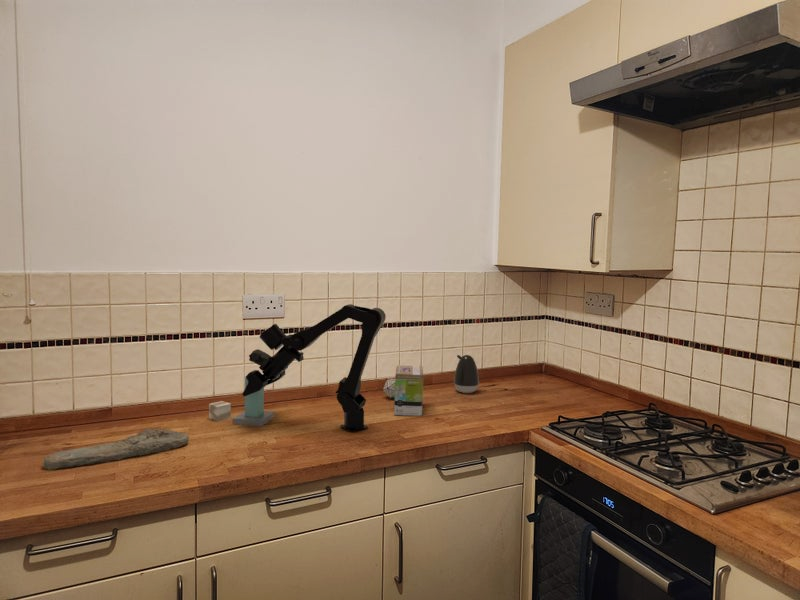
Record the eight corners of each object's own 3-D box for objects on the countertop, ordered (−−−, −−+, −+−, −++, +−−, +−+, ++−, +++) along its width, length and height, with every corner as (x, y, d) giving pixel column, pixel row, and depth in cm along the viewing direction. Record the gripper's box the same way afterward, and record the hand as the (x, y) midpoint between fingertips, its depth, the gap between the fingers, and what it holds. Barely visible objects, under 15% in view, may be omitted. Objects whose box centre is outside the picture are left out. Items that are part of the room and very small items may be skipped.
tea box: (422, 416, 182) (423, 374, 181) (393, 415, 182) (394, 373, 181) (422, 404, 197) (422, 364, 196) (395, 403, 197) (395, 364, 196)
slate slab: (274, 418, 179) (274, 411, 179) (261, 428, 169) (261, 420, 169) (246, 416, 181) (246, 409, 180) (232, 426, 171) (232, 418, 171)
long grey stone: (44, 466, 139) (44, 482, 131) (42, 447, 138) (42, 462, 130) (185, 436, 158) (192, 448, 150) (183, 419, 157) (191, 430, 149)
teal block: (263, 413, 176) (264, 374, 176) (257, 417, 172) (258, 377, 171) (251, 412, 177) (251, 374, 176) (244, 416, 173) (245, 376, 172)
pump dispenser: (465, 387, 223) (466, 351, 222) (483, 392, 215) (485, 355, 214) (448, 390, 217) (448, 354, 215) (466, 396, 209) (467, 358, 207)
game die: (397, 408, 204) (405, 391, 198) (376, 400, 203) (384, 383, 198) (402, 392, 211) (410, 375, 205) (382, 384, 211) (389, 367, 205)
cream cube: (230, 418, 177) (230, 403, 177) (217, 421, 173) (217, 406, 173) (222, 415, 180) (222, 400, 180) (209, 418, 176) (209, 403, 176)
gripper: (276, 337, 181) (246, 367, 184) (251, 347, 163) (219, 380, 166) (298, 361, 180) (268, 391, 183) (276, 373, 162) (242, 406, 165)
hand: (250, 391), depth 174 cm, fingers open, 9 cm apart
